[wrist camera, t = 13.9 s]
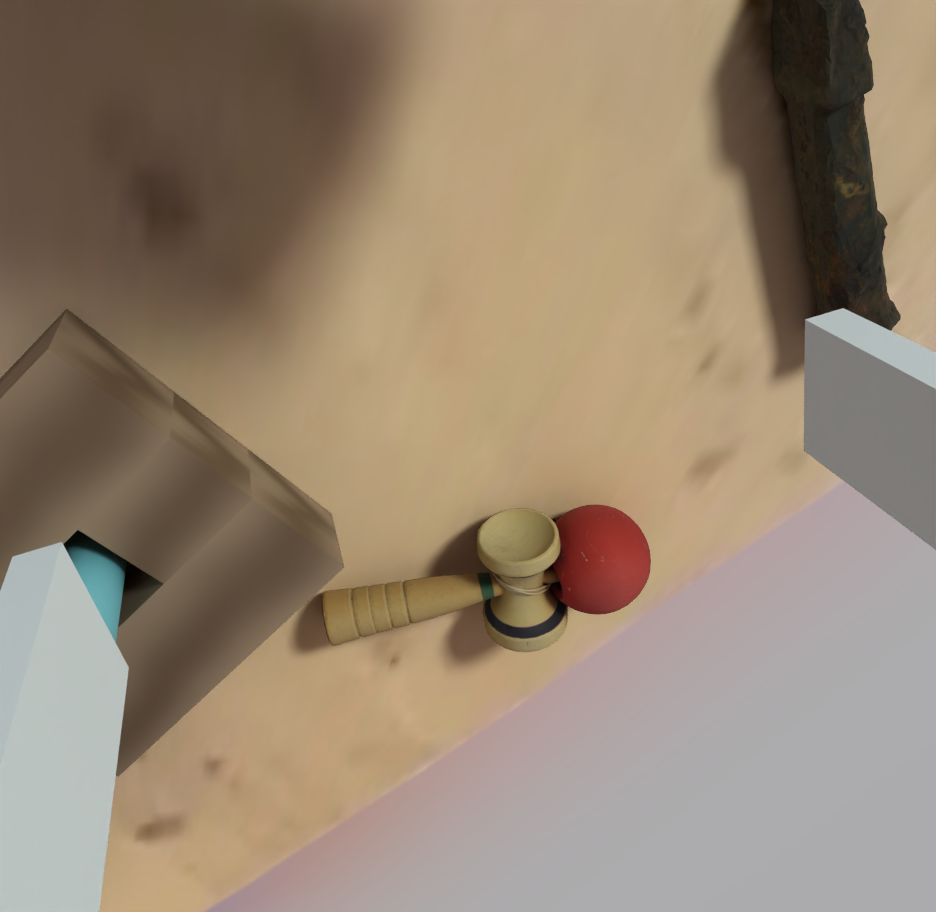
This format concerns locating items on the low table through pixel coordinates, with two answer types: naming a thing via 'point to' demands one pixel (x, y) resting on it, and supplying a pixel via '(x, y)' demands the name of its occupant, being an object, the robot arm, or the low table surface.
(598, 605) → the kendama
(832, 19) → the hand tool
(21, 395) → the hole block
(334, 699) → the low table surface
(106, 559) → the peg
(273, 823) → the low table surface
